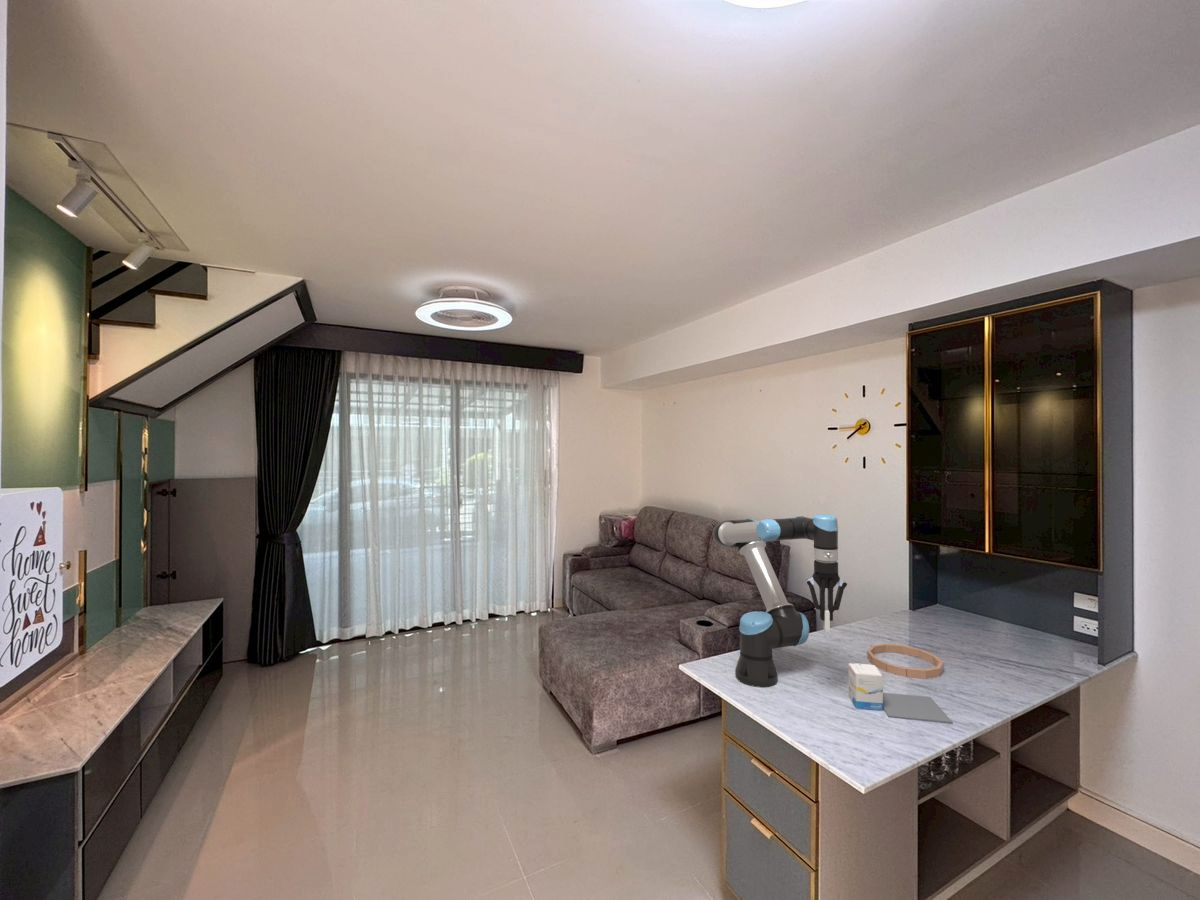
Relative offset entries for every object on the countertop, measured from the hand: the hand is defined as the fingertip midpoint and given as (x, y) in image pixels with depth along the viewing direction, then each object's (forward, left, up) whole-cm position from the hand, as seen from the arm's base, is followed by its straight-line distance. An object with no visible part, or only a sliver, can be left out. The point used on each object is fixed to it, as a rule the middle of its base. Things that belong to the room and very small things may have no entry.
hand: (826, 629), depth 168 cm
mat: (+25, 0, -24) cm, 35 cm away
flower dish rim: (+36, +36, -24) cm, 56 cm away
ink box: (+12, 0, -24) cm, 27 cm away
